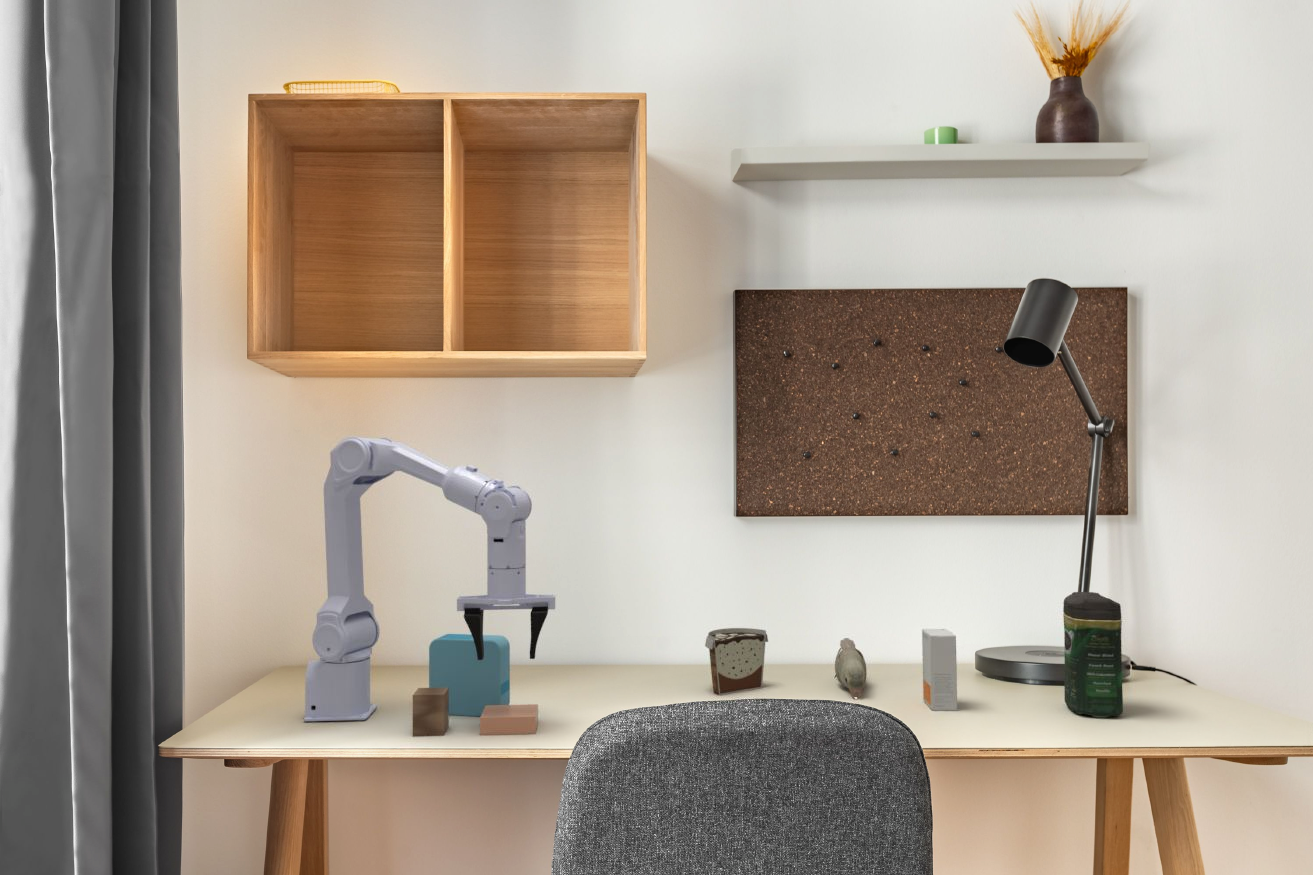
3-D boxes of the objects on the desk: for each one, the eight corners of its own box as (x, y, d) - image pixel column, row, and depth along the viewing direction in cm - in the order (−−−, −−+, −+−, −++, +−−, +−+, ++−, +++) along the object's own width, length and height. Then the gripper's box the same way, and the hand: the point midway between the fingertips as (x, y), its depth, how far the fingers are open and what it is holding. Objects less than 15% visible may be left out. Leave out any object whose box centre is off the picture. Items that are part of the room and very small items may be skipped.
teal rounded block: (510, 710, 149) (510, 635, 150) (500, 717, 145) (500, 640, 145) (440, 707, 152) (440, 633, 152) (428, 714, 147) (428, 638, 147)
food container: (747, 680, 169) (746, 625, 169) (768, 686, 164) (768, 630, 164) (691, 689, 162) (691, 631, 163) (711, 696, 157) (711, 637, 158)
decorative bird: (840, 700, 155) (839, 655, 155) (831, 678, 171) (831, 637, 171) (873, 701, 154) (872, 655, 155) (861, 678, 170) (861, 637, 171)
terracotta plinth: (480, 734, 135) (480, 717, 136) (485, 721, 142) (485, 705, 142) (535, 733, 136) (535, 716, 136) (538, 720, 143) (538, 704, 143)
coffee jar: (1130, 720, 141) (1127, 597, 142) (1074, 717, 143) (1072, 596, 143) (1111, 704, 151) (1109, 589, 151) (1059, 701, 152) (1057, 588, 153)
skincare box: (922, 701, 154) (921, 628, 154) (948, 701, 153) (947, 628, 154) (931, 710, 147) (930, 634, 148) (958, 711, 147) (957, 635, 148)
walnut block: (412, 736, 135) (412, 695, 135) (418, 727, 139) (418, 687, 140) (443, 735, 135) (443, 694, 135) (448, 727, 140) (448, 687, 140)
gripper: (454, 570, 135) (454, 664, 135) (554, 569, 136) (554, 662, 136) (460, 565, 142) (460, 654, 142) (555, 564, 143) (555, 652, 143)
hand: (506, 658), depth 139 cm, fingers open, 7 cm apart
